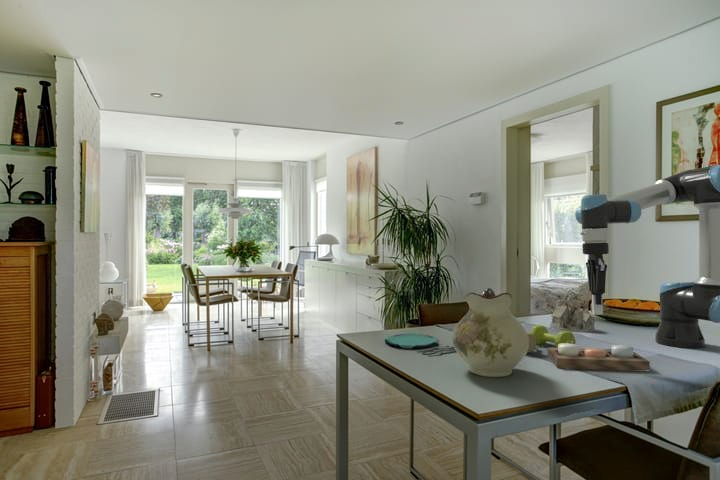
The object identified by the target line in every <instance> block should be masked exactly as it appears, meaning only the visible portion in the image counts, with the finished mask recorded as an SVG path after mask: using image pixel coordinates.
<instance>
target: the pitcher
mask: <svg viewBox="0 0 720 480" xmlns="http://www.w3.org/2000/svg"><path fill="white" fill-rule="evenodd" d="M465 298H466V299H465V300H466V303H467V304H468V306H469V309H468V311H467V313H466V314H465V315H464V316H463V317H461V319H460V320H459V321H458V322H457V324H456V325H455V328H454V330H453V332H452V344H453V347H454V349H455V350H456V352H455V353H456V354H457V355H458V356H459V358H460V359H461V360H462V361H463V362H464V363H465V364H466V365H467V366H468V368H469V372H471V373H472V374H475V375H477V376H481V377H486V378H502V377H503V378H504V377H507V376H510V375H512V374H513V370H514V368H515V367H517V366H518V365H519V363H520V362H521V361H523V359H524V358H525V356H526V354H528V353H527V351H528V347H529V337H528V334H527V332H528V331H527V330H526V329H525V327H524V326H523V324H522V323H521V322H520V321H519V320H518V319H517V318H516V317H515V315H513V314H512V312H511V310H510V306H511V304H512V302H513V301H512V298H513V296H512V294H511V293H509V292H502V293H499V294H495V291H494V290H493V289H492V288H491V287H487V288H485V289H484V290H483V292H481V294H479V293H476V292H469V293H467V294H466V296H465Z"/></svg>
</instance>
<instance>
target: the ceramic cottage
mask: <svg viewBox="0 0 720 480" xmlns="http://www.w3.org/2000/svg"><path fill="white" fill-rule="evenodd" d="M551 317H552V319H551V322H550V324H549V329H552V330H557V331H561V332H562V331H569V332H575V333H577V332H578V333H590V332H591V333H593V332H596V328H595V323H596V319H595V318H594V317H593V315H592V314H591V313H590V311H589V308H585V309H584V308H580V306H579V304H578V301H577V300H576V299H574V297H573V295H572V294H568V297H567V300H566V301H565V303H564V305H563V304H562V300H561V299H557V300H556V303H555V309H554V311H553V313H552V314H551Z"/></svg>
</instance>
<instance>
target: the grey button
mask: <svg viewBox="0 0 720 480" xmlns="http://www.w3.org/2000/svg"><path fill="white" fill-rule="evenodd" d="M610 349H611V353H612V356H613V357H618V358H633V352H634V347H633V346H631V345H630V346H629V345H625V344H613V345H611V347H610Z"/></svg>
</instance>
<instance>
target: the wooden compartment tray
mask: <svg viewBox="0 0 720 480" xmlns="http://www.w3.org/2000/svg"><path fill="white" fill-rule="evenodd" d="M546 349H547V353H546V354H547V357H548V359H549V360H550V361H551V362H552V363H553V365H554V366H555V367H556V368H557V369H579V370H602V371H603V370H604V371H625V370H651V369H650V362H651V361H650V360H648V359H646V358H644V357H643V356H641V355H640V354H638V353H636V352H635V351H633V358H618V357H613V356H612V353H611V348H610V349H609V348H608V349H606V348H602V349H603V350H605V351H606V357H589V356H585V348H579V356H560V355H559V354H558V348H557V347H547V348H546Z"/></svg>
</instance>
